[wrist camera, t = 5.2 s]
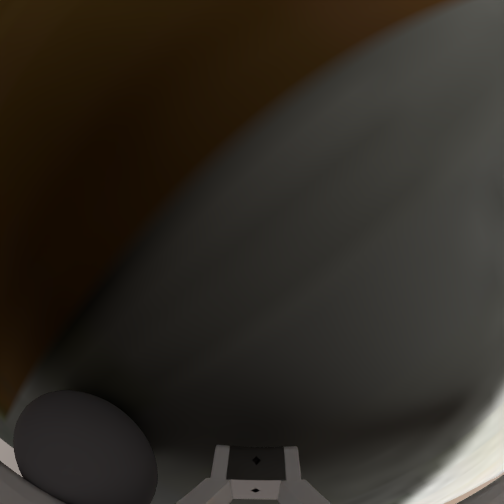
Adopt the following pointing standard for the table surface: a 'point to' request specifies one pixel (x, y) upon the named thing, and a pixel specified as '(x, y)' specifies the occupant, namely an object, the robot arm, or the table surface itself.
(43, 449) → the dark gray ball
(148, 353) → the table surface
